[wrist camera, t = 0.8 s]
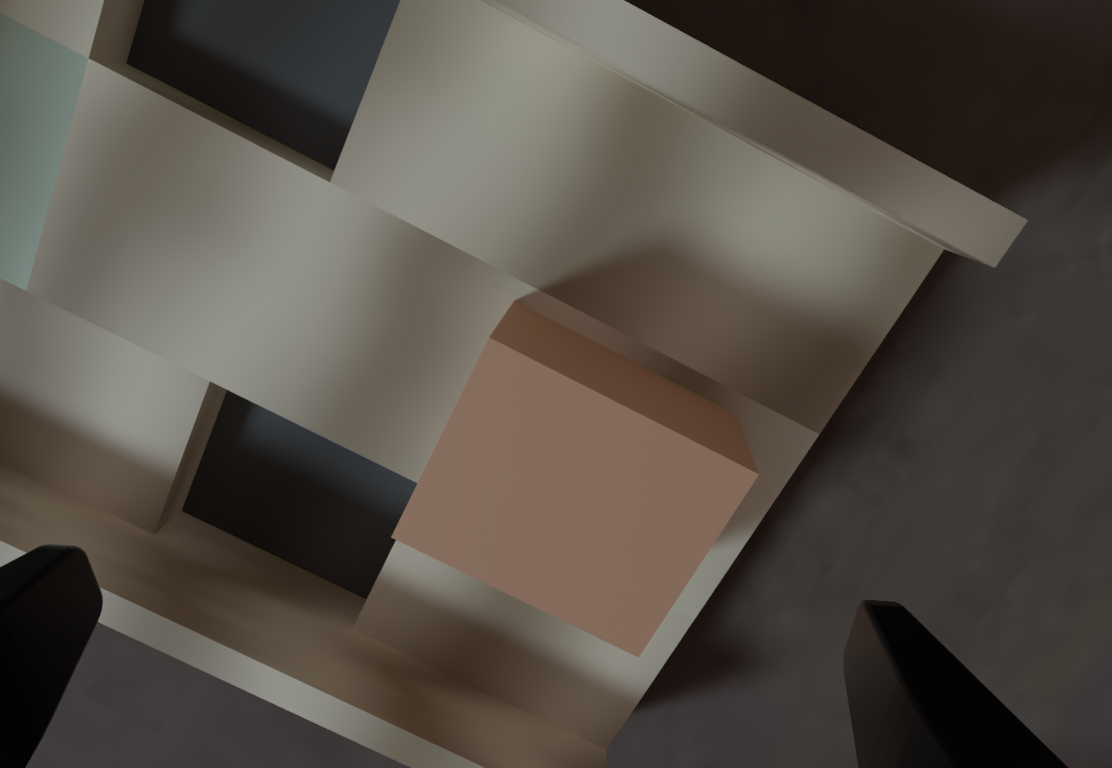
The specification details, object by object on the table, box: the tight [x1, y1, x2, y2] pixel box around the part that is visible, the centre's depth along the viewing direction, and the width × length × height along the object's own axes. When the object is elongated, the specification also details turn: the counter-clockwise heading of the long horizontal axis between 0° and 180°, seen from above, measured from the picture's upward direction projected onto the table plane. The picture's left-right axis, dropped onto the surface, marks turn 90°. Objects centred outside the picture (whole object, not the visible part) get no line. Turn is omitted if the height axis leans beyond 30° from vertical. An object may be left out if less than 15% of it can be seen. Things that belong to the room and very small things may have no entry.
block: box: [391, 301, 759, 658], centre depth 18 cm, size 6×5×4 cm
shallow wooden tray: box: [0, 0, 1028, 768], centre depth 19 cm, size 24×18×4 cm
